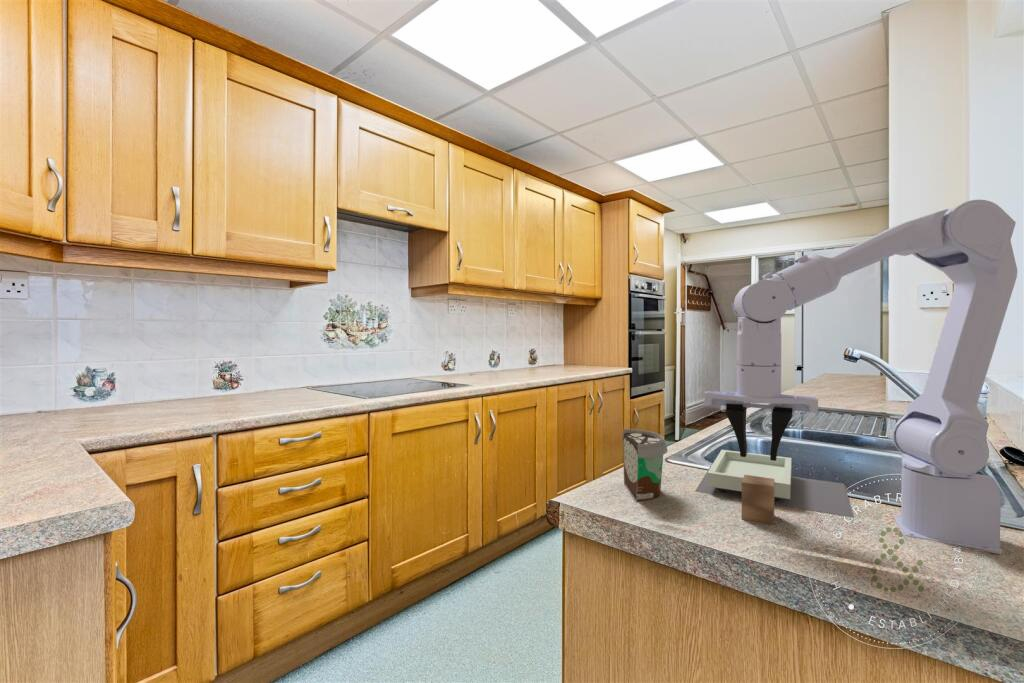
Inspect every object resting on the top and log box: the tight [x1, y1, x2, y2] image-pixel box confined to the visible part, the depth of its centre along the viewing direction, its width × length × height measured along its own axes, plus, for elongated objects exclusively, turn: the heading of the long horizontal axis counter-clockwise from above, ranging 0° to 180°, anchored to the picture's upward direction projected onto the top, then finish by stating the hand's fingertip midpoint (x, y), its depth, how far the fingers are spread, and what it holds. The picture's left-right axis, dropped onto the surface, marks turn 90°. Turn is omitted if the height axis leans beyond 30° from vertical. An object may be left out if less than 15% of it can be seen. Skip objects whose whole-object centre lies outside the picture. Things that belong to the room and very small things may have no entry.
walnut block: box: [741, 475, 775, 526], centre depth 68 cm, size 4×4×6 cm
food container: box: [621, 428, 668, 504], centre depth 80 cm, size 12×6×10 cm, turn 179°
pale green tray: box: [706, 449, 792, 501], centre depth 82 cm, size 12×17×4 cm
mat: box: [694, 465, 855, 519], centre depth 81 cm, size 22×17×1 cm
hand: (758, 457), depth 68 cm, fingers open, 3 cm apart
